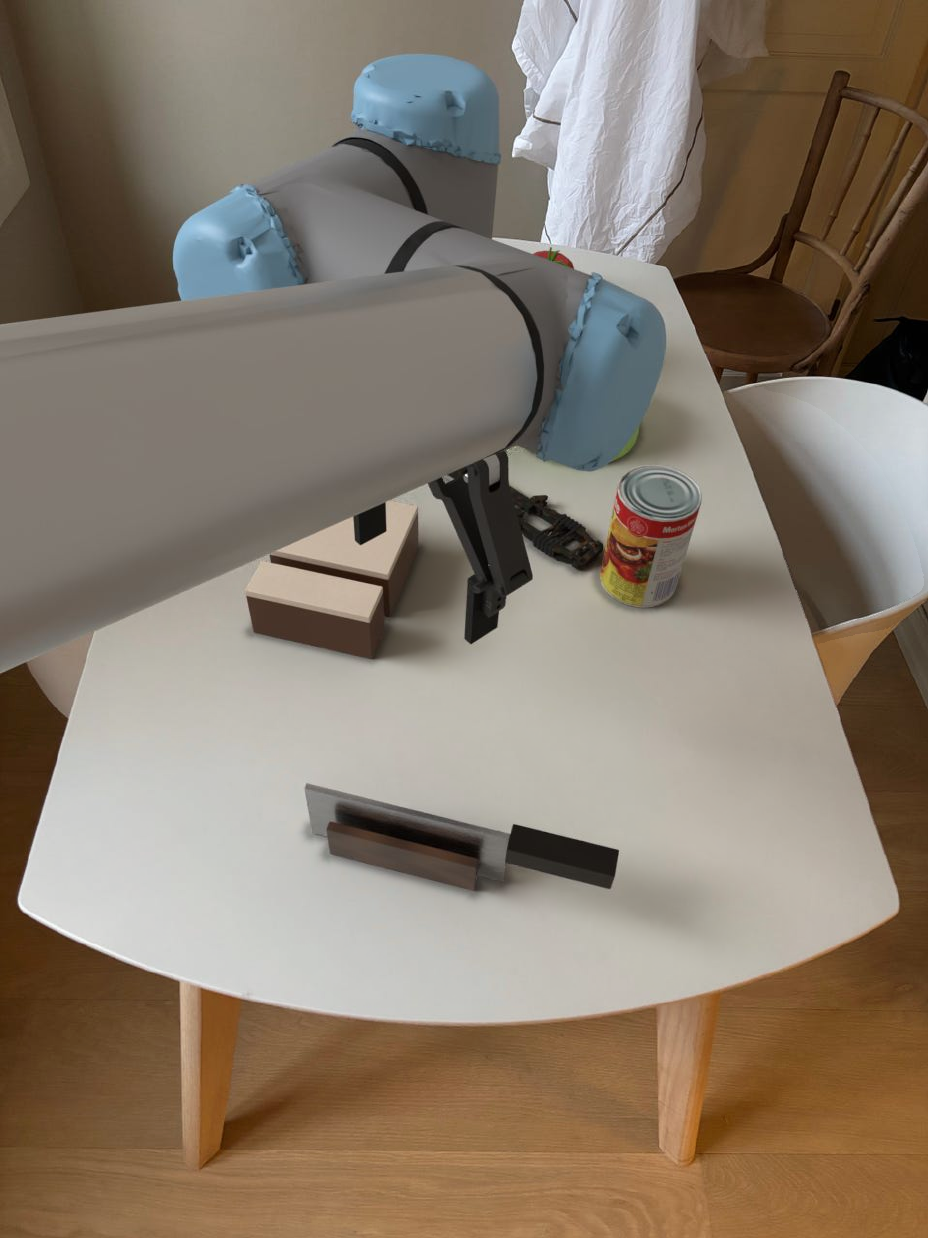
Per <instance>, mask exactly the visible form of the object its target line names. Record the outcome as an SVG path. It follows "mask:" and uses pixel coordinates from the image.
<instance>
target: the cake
mask: <svg viewBox="0 0 928 1238" xmlns="http://www.w3.org/2000/svg"><path fill="white" fill-rule="evenodd" d="M386 528H387V531H386V532H385V533H383V534H381V535H379V536H377V537H375V538H374V539H372V540H370V541H368V542H366V543H364V544H362V545H361V546H360V545H359V544H358V543H357V542H356V541H355V535H354V520H353V517H351V518H349V519H346V520H344V521H342V522H340V523H337V524H335V525H333V526H331V527H328V528H326V529H324V530H322V531H319V532H317V533H315V534H313V535H310V536H308V537H306V538H304V539H301V540H299V541H297V542H295V543H292V544H290V545H288V546H286V547H283V548H281V549H279V550H277V551H274V552H272V553H270V554H269V560H270V561H269V562H270V563H274V564H279V565H284V566H288V567H293V568H297V569H302V570H307V571H311V572H316V573H321V574H325V575H330V576H335V577H339V578H344V579H349V580H353V581H358V582H363V583H367V584H372V585H377V586H381V587H383V602H384V617H391V615H392V612H393V611H394V608H395V606H396V603H397V601H398V598H399V596H400V594H401V591H402V589H403V587H404V584H405V582H406V579H407V577H408V574H409V572H410V569H411V567H412V564H413V563H414V560H415V558H416V555H417V553H418V550H419V506H418V505H416V504H410V503H404V502H400V501H395V500H389V501H387V502H386Z"/></svg>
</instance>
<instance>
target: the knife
mask: <svg viewBox="0 0 928 1238" xmlns="http://www.w3.org/2000/svg"><path fill="white" fill-rule="evenodd" d="M461 475H462V468H461V469H459V470H456V471H454V472H452V473H450V474H447V475H445V476H443V477H442V478H444V479H446V480H448V482H449V481H451V480H453V479H455V478H457V477H459V476H461ZM510 489H511V493H512V497H513V501H514V505H515V508H516V512H517V516H518V520H519V524H520V528H521V532H522V536H523V537H525V539H527V540H528V541H530V542H532V546H533V547H536V549H537V550H540V551H541V552H542V553H544V554H545V555H547V556H548V557H549V558H552V559H554V560H555V561H558V562H563V563H565V564H571V567H572V568H574V569H575V570H580V571H581V570H583V569H584V568H588V567H589V566H590V565H592V564H593V563H594V562H595V561H596V560H597V559H598V558H599V556H600V555H601V554H602V553H603V552H604V549H605V546H604V543H603V542H602V541H600V540H598V539H597V540H596V539H594V538H593V537H591V536H590V535H589V533H588V532H587V527H585V526H584V525H583V524H582V523H579V521H578V520H575V519H574V518H571V516H569V515H568V514H566V513H560V512H558V511H557V510H555V509H553V508H550V507H547V506H548V500H549V496H548V495H547V494H539V495H536V494H535V495H532V496H531V497H528V496H527V495H525V494H523V493H522V492H520V491H519V490H517V489H516V488H514V487H513V486H512V485H510ZM543 512H544V513H545V514H544V513H543ZM525 513H526V514H527V515H530V514H531V513H533V514H534V515H536V516H537V517H538V518H540V519H542V520H544V521H545V522H547V523H548V524H550V525H551V526H549V527H547V528H545V529H543V530H540V529H538V528H537V527H535V526H534V525H532V524H531V523H530V522H528V521H526V520H524V516H525V515H524V514H525ZM557 532H558V533H557ZM556 538H559V539H558V540H556ZM573 540H574V541H576V542H578V543H579V544H580V545H578V546H577V547H576V548H574V549H573V550H570V549H568V547H566V546H567V545H568V544H569V543H571V542H572V541H573ZM590 543H591V544H590ZM582 555H583V556H582ZM581 556H582V557H581ZM570 557H571V558H570Z"/></svg>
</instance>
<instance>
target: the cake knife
mask: <svg viewBox="0 0 928 1238" xmlns="http://www.w3.org/2000/svg"><path fill="white" fill-rule="evenodd" d="M303 789H304V794H305V800H306V806H307V810H308V811H307V812H308V816H309V822H310V829H311V833H312V834H315V835H318V836H323V837H325V838H327V831H326V829H327V826H328V824H329V822H330V821H331V822H335V823H339V824H343V825H347V826H351V827H355V828H358V829H362V830H366V831H370V832H374V833H378V834H382V835H386V836H390V837H394V838H398V839H402V840H406V841H410V842H414V843H418V844H422V845H426V846H429V847H433V848H437V849H441V850H445V851H449V852H453V853H457V854H461V855H465V856H469V857H473V858H477V859H479V861H478V872H477V877H482V878H486V879H490V880H494V881H497V882H500V883H501V882H504V879H505V873H506V866H507V864H508V865H512V866H516V867H519V868H524V869H528V870H532V871H534V872H535V871H536V872H540V873H543V874H547V875H551V876H555V877H559V878H563V879H567V880H570V881H575V882H578V883H582V884H587V885H591V886H595V887H599V888H603V889H607V890H611V889H612V887H613V883H614V881H615V877H616V873H617V866H618V862H619V861H618V860H619V855H620V850H619V849H617V848H613V847H609V846H604V845H601V844H597V843H593V842H590V841H589V842H588V841H585V840H581V839H577V838H573V837H569V836H565V835H560V834H557V833H552V832H548V831H545V830H541V829H537V828H532V827H528V826H524V825H521V824H520V825H519V824H516V823H513V824H512V826H511V830H510V833H508V832H505V831H501V830H495V829H493V828H488V827H484V826H480V825H476V824H472V823H467V822H463V821H460V820H457V819H451V818H448V817H443V816H439V815H436V814H432V813H428V812H424V811H419V810H416V809H412V808H407V807H404V806H400V805H396V804H392V803H388V802H384V801H379V800H375V799H372V798H368V797H363V796H361V795H360V796H359V795H356V794H351V793H347V792H343V791H339V790H335V789H331V788H328V787H324V786H319V785H315V784H312V783H308V782H307V783H305V785H304V787H303Z"/></svg>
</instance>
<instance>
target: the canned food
mask: <svg viewBox="0 0 928 1238" xmlns="http://www.w3.org/2000/svg"><path fill="white" fill-rule="evenodd" d="M702 501H703V494H702V491H701V488H700V486H699V485H698V483H697V482H696V481H695V480H694V479H693V478H692V477H691V476H689V474H687V473H685V472H683V471H681V470H679V469H677V468H674V467H671V466H669V465H662V464H644V465H639V466H636V467H633V468H631V469H629V470H627V471H626V472H625V473H624V474H623V475H622V476H621V477H620V478H619V481H618V483H617V488H616V492H615V498H614V503H613V508H612V512H611V517H610V522H609V529H608V533H607V536H606V537H607V538H606V542H605V546H604V550H603V552H604V553H603V556H602V561H601V565H600V573H599V580H600V583H601V586H602V588H603V589H604V591H605V593H607V594H609V596H610V597H611V598H612V599H614V600H616V601H617V602H619V603H621V604H624V605H627V606H629V607H634V608H640V609H641V608H643V609H644V608H653V607H657V606H660V605H662V604H665V603H666V602H668V601H669V600H670V599H671V598H672V597H673V595H674V594H675V592H676V589H677V586H678V583H679V579H680V576H681V572H682V569H683V566H684V564H685V563H684V562H685V559H686V555H687V552H688V549H689V545H690V542H691V538H692V535H693V532H694V528H695V526H696V522H697V519H698V515H699V512H700V508H701V505H702Z"/></svg>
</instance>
